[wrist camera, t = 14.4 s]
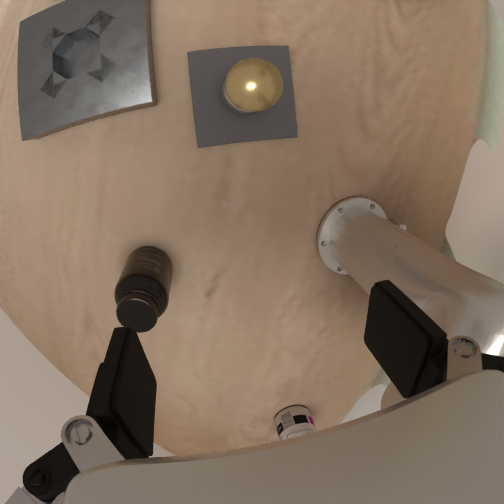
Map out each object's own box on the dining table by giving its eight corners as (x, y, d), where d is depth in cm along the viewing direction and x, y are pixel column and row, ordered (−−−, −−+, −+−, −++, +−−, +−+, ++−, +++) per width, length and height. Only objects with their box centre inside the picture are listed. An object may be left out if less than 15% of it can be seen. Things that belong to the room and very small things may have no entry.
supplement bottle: (117, 265, 40) (95, 311, 29) (149, 236, 39) (133, 276, 29) (150, 296, 43) (139, 348, 32) (182, 270, 42) (179, 318, 31)
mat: (287, 46, 32) (288, 45, 32) (296, 137, 38) (297, 137, 37) (187, 53, 31) (187, 52, 30) (198, 147, 36) (198, 147, 35)
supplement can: (315, 407, 61) (336, 458, 48) (292, 426, 63) (309, 476, 49) (289, 401, 58) (309, 456, 45) (266, 421, 60) (281, 474, 47)
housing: (149, -10, 25) (144, -24, 21) (157, 105, 33) (151, 101, 29) (34, 29, 23) (20, 21, 19) (38, 138, 31) (22, 140, 27)
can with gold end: (263, 70, 33) (281, 57, 25) (267, 113, 35) (285, 110, 28) (218, 73, 32) (223, 59, 24) (221, 116, 34) (227, 113, 27)
